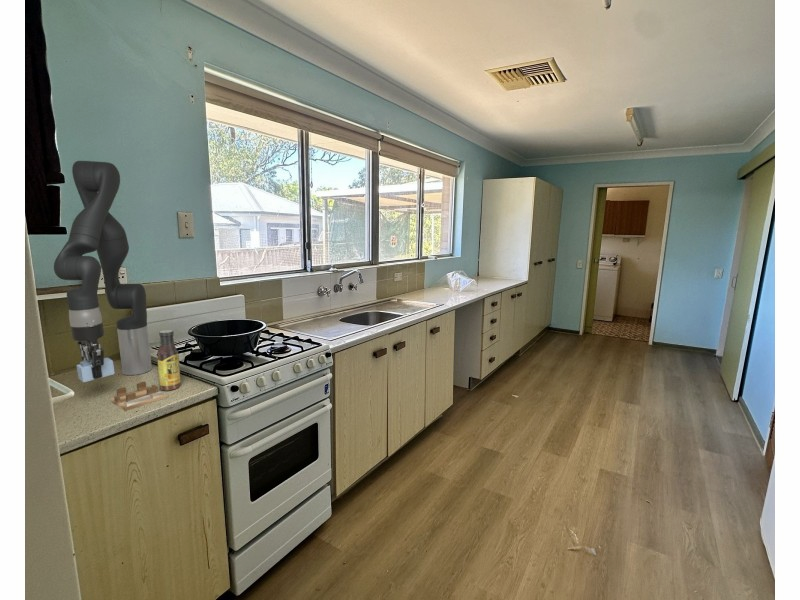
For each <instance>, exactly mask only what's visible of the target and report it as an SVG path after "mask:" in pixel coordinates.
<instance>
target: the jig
mask: <svg viewBox="0 0 800 600" xmlns="http://www.w3.org/2000/svg"><path fill="white" fill-rule="evenodd" d="M136 389H137V390H133V391H130V392H127V387H126V386H123V387H119V388H115V392H116V395H113V397H110V399H109V401H110V402H111V403H113V404H114V405H116V406H117V407H118V408H120V409H122V410H123V411H124V412H127V411H129V410H134V409H135V408H139V407H142V406H145V405H148V404H151V403H154V402H157V401H161V400H164V399H166V398H167V394H165V393H163V392H162V390H161V391H160V390H159V388H158V385H155V384H151V386H147V382H146V381H139V382H137V383H136ZM163 398H164V399H163ZM160 399H161V400H160Z"/></svg>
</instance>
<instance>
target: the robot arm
mask: <svg viewBox="0 0 800 600" xmlns="http://www.w3.org/2000/svg"><path fill="white" fill-rule="evenodd" d="M71 172H72V178H73V181H74V185H75V188H76V190H77V193H78V195H79V197H80V201H81V203H82V205H83V209H82V210H81V211H80V212H79V213H78V214H77V215H76V216H75V218H74V220H73V221H72V224H71V229H70V231H69V235H68V236H69V237H68V240H67V242H66V243H65V244H64V246H63V247H62V249H61V250H60V252H58V254H57V256H56V258H55V260H54V263H53V272H54V274H55V275H56V277H58V278H59V279H61V280H64V281H82V282H81V285H80V286H79V287H74V288H70V289H69V290H68V291H67V292H66V300H67V305H68V318H69V319H68V320H69V325H70V331H71V337H72V340H73V341H77V345H78V349H79V353H80V357H81V360H82V361H86V360H89V361H90V366H91V369H92V376H93V378H94V380H97V378H98V379H102V378H103V377H102V371H101V365H104V358H105V355H104V353H105V351H104V348H103V347H101V343H100V342H99V339H100V338H102V337H104V335H105V332H104V325H103V324H104V323H103V318H102V317H103V316H102V313H101V308H100V304H99V298H98V290H99V284H100V278H101V273H102V275H103V283H104V286H105V293H106V298H107V302H108V304H109V306H110V307H111V308H112V309H115V310H132V312H131V314H129V315H128V316H125V317H122V318H120V319H117V321H116V330H117V338H118V339H117V340H118V347H119V353H120V354H119V355H120V362H121V371H122V375H126V376H135V375H141V374H145V373H147V372H149V371H151V370H152V369H153V368H152V358H151V357H152V356H151V348H150V339H149V338H150V337H149V330H148V329H149V328H148V311H147V293H146V289H145V287H144V285H143V284H141V283H121V282H120V278H119V276H120V275H119V274H120V270H121V267H122V265H123V263H124V262H125V260H126V258H127V256H128V254H129V251H130V246H129V241H128V237H127V236H128V235H127V233H126V230H125V228H124V227H123V225H122V224H121V223H120V222H119V220H117V219H116V218H115V217H114V216H113V215H112V214H111V213H110V212H109V211H110V209H111V207H112V205H113V203H114V200H115V199H116V195H117V193H118V191H119V189H120V185H121V175H120V171H119V169H118V168H117V166H116V165H115V164H114V163H111V162H108V161H91V160H76V161H74V163H73V164H72V169H71ZM95 251H96V254H97V256H98V259H99V260H98V259H97V258H95V257H94V256H91V255H86V254H89V253H93V252H95ZM97 360H98V362H96V361H97ZM101 377H102V378H101Z"/></svg>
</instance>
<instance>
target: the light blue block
mask: <svg viewBox="0 0 800 600" xmlns="http://www.w3.org/2000/svg"><path fill="white" fill-rule="evenodd" d="M96 362H98V360H97V361H96ZM76 371H77V375H78V376H77V377H78V380H80V381H81V382H82V383H86V382H90V381H95V379H94V378H93V376H92V369H91V366H90V361H89V360H86V361H84V360H82V361H80V362H79V364H76ZM101 371H102V377H101V378H100V379H102V378H106V377H109V376H112V375H115V368H114V360H112V359H111V358H109V357H104V365H101ZM97 379H99V378H97ZM97 379H96V380H97Z"/></svg>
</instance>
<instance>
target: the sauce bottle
mask: <svg viewBox="0 0 800 600" xmlns="http://www.w3.org/2000/svg"><path fill="white" fill-rule="evenodd" d="M158 333H159V338H160V342H159V343H160V346H159V348H158V350H157V352H156V354H157V360H156V362H157V371H158V385H159V390H161V391H164V392H165V391H167V392H168V391H173V390H176V389H178V388H180V386H181V371H180V369H181V368H180V355H179V354H180V353H179V351H178V350H177V348H176V345H175V342H174V330H173V329H163V330H160V331H159V332H158Z"/></svg>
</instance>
